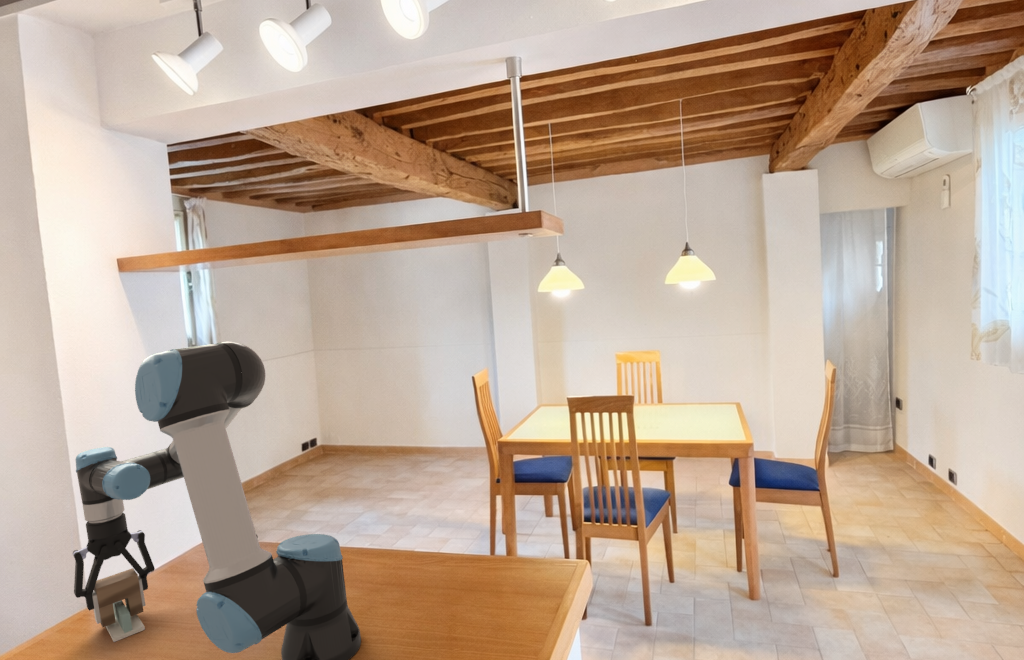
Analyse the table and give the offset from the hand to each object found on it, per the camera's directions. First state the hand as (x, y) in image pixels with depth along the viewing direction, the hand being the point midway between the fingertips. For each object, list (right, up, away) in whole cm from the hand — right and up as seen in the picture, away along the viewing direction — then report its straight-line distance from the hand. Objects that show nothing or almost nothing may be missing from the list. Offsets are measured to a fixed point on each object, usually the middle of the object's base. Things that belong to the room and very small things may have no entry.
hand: (120, 612), depth 141 cm
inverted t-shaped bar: (0, -3, 0) cm, 3 cm away
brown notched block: (0, -1, 0) cm, 1 cm away
